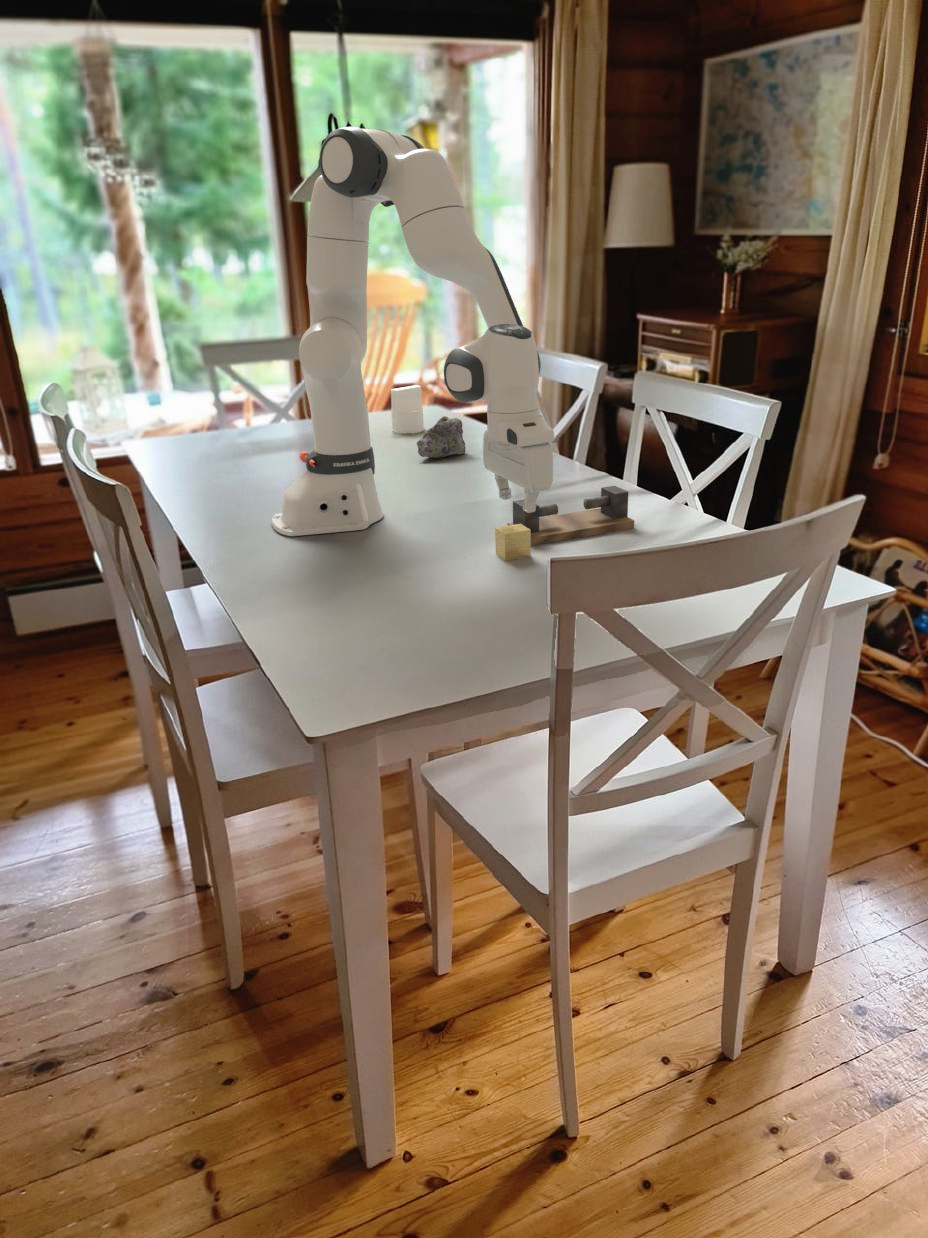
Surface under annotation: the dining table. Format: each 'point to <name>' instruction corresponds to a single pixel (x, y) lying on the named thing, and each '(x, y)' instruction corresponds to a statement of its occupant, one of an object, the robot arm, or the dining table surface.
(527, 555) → the yellow cube
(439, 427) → the mineral rock
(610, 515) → the shaft stand
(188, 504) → the dining table surface
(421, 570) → the dining table surface
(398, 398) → the cylinder with rectangular tab
